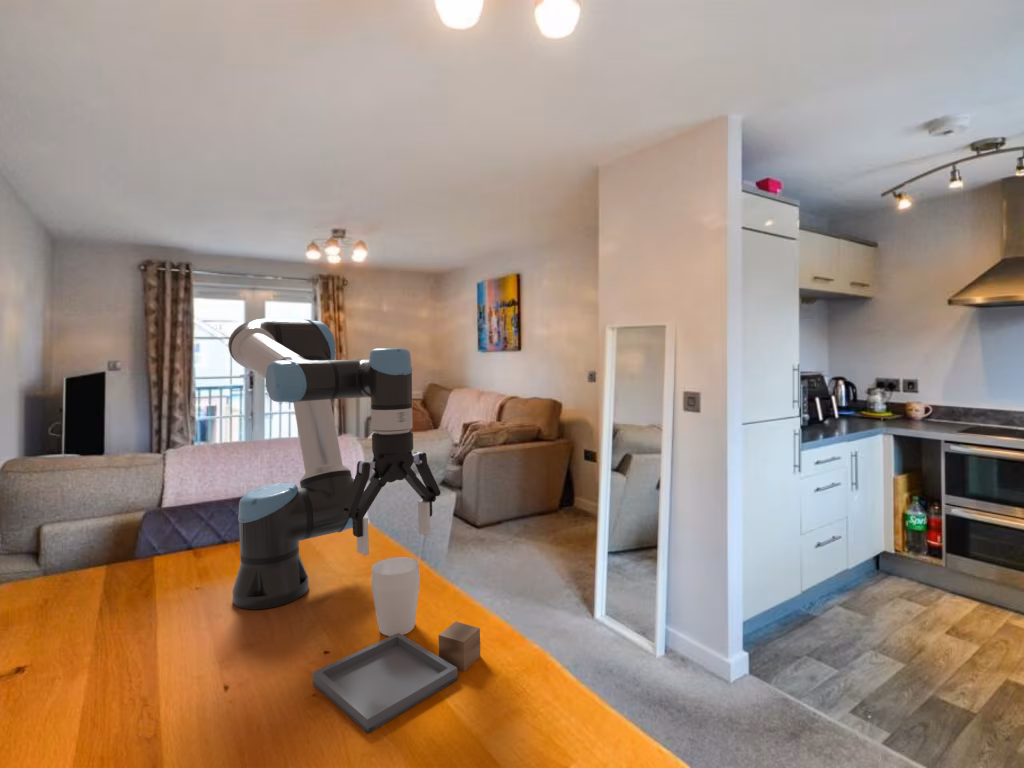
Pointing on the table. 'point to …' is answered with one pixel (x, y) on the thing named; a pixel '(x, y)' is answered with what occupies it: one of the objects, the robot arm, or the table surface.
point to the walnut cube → (460, 645)
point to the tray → (383, 680)
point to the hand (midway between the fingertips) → (395, 543)
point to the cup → (395, 594)
